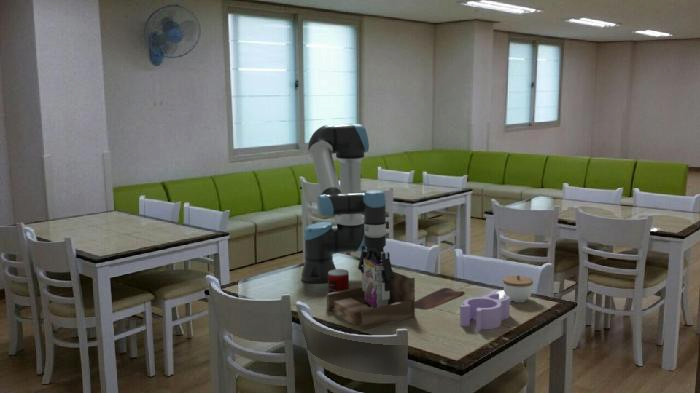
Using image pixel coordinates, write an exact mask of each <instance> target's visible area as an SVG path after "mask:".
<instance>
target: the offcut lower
mask: <svg viewBox="0 0 700 393" xmlns="http://www.w3.org/2000/svg"><path fill="white" fill-rule="evenodd" d="M333 311H334V314H335V315H336V314H337V316H338V315H339V316H338V317H340V318H342V319H343V320H345V321H346V322H348V323H350V324H351V325H353V326H358V325H361V318H360V319H356V320H354V319H352V318H351V317H349V316H347V315H345V314H344V313H342V312H340V311H338V310H337V309H335V308H334V310H333Z"/></svg>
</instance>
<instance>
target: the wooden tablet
mask: <svg viewBox="0 0 700 393" xmlns="http://www.w3.org/2000/svg"><path fill="white" fill-rule="evenodd" d="M464 294H465V292H464V291H462V290H459V291H458V290H457V291H455V290H454V289H453V288H449V287H443V288H440V289H438V290H436V291H433V292H431V293H429V294H426V295H425V296H423V297H421V298H419V299H417V300H415V310H417V309H418V310H423V311H424V310H425V311H427V310H430V309H434V308H436V307H439V306H441V305H443V304H445V303H448V302H449V301H452V300H454V299H456V298H458V297H461V296H463V295H464Z"/></svg>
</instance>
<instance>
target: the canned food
mask: <svg viewBox="0 0 700 393" xmlns="http://www.w3.org/2000/svg"><path fill="white" fill-rule="evenodd" d="M349 273H350V272H349V270H347V269H343V268H336V269H334V270H331V271H329V272H328V282H327V288H328V290H327V291H328V293H332V292H337V291H342V290H347V289H350V286H349V285H350V280H349V279H350V278H349V276H350V275H349Z"/></svg>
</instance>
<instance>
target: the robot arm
mask: <svg viewBox="0 0 700 393" xmlns="http://www.w3.org/2000/svg"><path fill="white" fill-rule="evenodd" d="M368 136H369V135H368V132H367V130H366V127H365V126H364V125H363V124H359V123H346V124H345V123H343V124H341V123H340V124H325V125H323V126H320V127H319V128H318V129H316V130H315V131H314V132H313V133H312V135H311V137H310V139H309V141H308V144H307V145H308V146H307V148H308V149H307V150H308V155H309V158H311V159H312V160H313V161H312V162H313V166H314V169H315V175H316V179H317V182H318V183H317V184H318V187H319V188H318V189H319V193H320V195H318V196H317V198H316V207H317V212H318V214H319V216H340V217H339V218H338V219H337V220H336V225H333V224H332V223H331V222H330V221H325V222H324V221H321V222H316V223H312V224H309V225H307V226H306V227H305V228H304V232H303V234H304V235H303V236H304V237H303V239H304V263H303V268H302V271H301V280H302V281H303V282H305V283H310V284H324V283H325V284H326V283H327V284H328V272H329V271H331V270H334V269H337V267H336V266H335V262H334V260H333V258H334V257H333V255H334V254H346V253H358V252H361V253H360V258H359V260H358V266H357V268H358V270H359V271H360V273H361V280H362V282H361V284H362V285H361V286H362V289H363V291H364V262H363V258H365V257H366V260H369V259H371V260H372V261H374V262H375V263H376V264H381V263H383V267H384V271H383V270H382V278H383V281H382V300H387V299H390V281H394V276H393V272H392V269H393V268H392V267H393V266H392V263H391V260H390V259H391V258H390V257H391V256H390V252H389V251H388V252H385V250H384V248H385V247H386V245H387V236H386V235H387V223H386V221H387V219H386V218H387V217H386V216H387V215H386V213H387V212H386V211H387V210H386V208H387V207H386V203H387V200H386V193H385V192H384V190H375V189H374V190H373V189H371V190H362V188H361V187H362V186H361V185H362V184H361V182H362V178H361V176H362V174H361V172H362V170H361V168H362V167H361V162H362V160H364V158H365V154H366V153H368V152H369V150H370V148H369V147H370V144H369V137H368ZM333 154H335V158H336V159H337V160H338V161H339V177H338V174H337V173H338V172H337V171H336V166H335V163H334V158H333ZM361 190H362V191H361ZM362 214H363V218H362V216H361V215H362ZM381 260H382V261H381ZM390 277H391V278H390Z"/></svg>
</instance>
